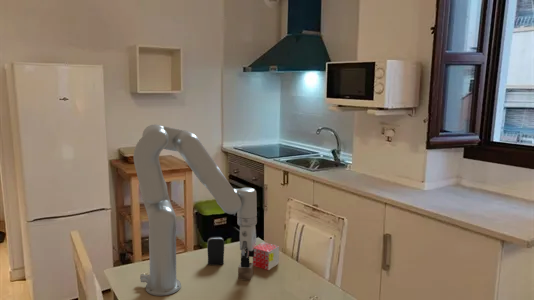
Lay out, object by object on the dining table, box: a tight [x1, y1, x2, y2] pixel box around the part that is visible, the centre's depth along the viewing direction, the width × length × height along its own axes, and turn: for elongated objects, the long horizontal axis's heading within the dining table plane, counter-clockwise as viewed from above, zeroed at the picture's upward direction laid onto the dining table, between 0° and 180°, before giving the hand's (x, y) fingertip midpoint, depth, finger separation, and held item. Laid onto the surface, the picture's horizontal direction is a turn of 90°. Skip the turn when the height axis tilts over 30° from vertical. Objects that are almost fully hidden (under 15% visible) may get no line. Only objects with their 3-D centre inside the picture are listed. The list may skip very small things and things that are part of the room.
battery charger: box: [206, 236, 225, 266], centre depth 179 cm, size 7×4×11 cm, turn 100°
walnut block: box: [237, 262, 254, 281], centre depth 167 cm, size 5×5×5 cm
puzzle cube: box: [252, 241, 280, 271], centre depth 179 cm, size 8×8×8 cm
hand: (247, 261), depth 167 cm, fingers open, 9 cm apart
